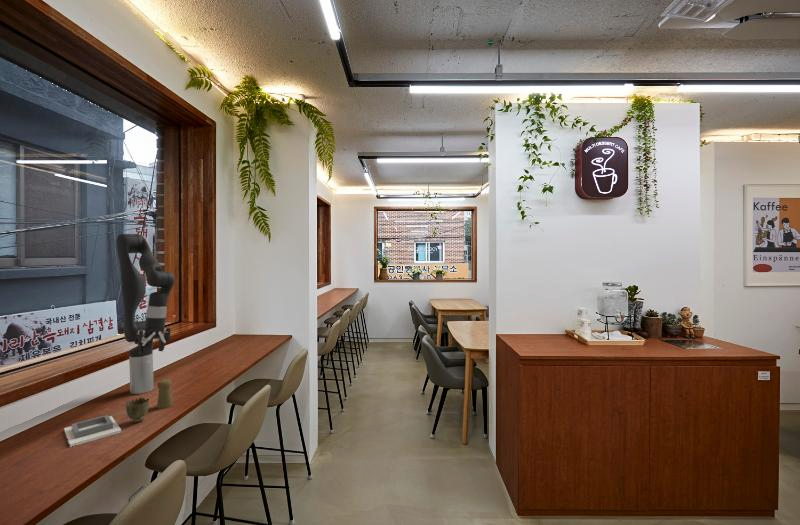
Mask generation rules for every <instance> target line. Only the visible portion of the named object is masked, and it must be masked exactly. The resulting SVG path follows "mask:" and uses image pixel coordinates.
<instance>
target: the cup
mask: <svg viewBox="0 0 800 525" xmlns="http://www.w3.org/2000/svg"><path fill="white" fill-rule="evenodd" d="M149 401H150V398H148V397H147V398H146V399H145V397H143V398H142V397H139V398H137V397H136V398H135V400H134V399H131V400H129V401H126V402H125V409H126V414H127V417H128V418H129V419H131V422H132V423H134V424H137V423H140V422H143V421H144V419H145V417H144V416H146V415H147V413H148V411H149V404H150V403H149Z"/></svg>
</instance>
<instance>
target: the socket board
mask: <svg viewBox="0 0 800 525" xmlns="http://www.w3.org/2000/svg"><path fill="white" fill-rule="evenodd" d="M63 431H64V435H65V437H66V440H67V439H68V440H67V443H68V445H70V446H69V448H73V447H76V446H80V445H83V444H86V443H90V442H93V441H97V440H101V439H104V438H106V437H111V436H115V435H118V434H120V433H122V428H121V427H120V426H119V424H118V423H117V422H116V420H115V419H114V417H113V415H110V416H109V415H108V414H107V415H102V416H99V417H95V418H90V419H86V420H82V421H78V422H75V423H72V424H71V426H67V427H64V430H63ZM75 445H76V446H75ZM72 446H73V447H72Z"/></svg>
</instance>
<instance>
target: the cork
mask: <svg viewBox="0 0 800 525" xmlns="http://www.w3.org/2000/svg"><path fill="white" fill-rule="evenodd" d="M172 385H173V383H172V380H171V379H162V380H159V381H158V382H157V389H158V395H157V402H156V403H157V406H156V409H158V410H163V408H165V409H168V408H167V407H169V408H171V407H173V406H174V405H173V404H174V400H173V393H172V389H171V387H172ZM172 405H173V406H172ZM170 406H171V407H170Z"/></svg>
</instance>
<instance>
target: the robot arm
mask: <svg viewBox="0 0 800 525" xmlns="http://www.w3.org/2000/svg"><path fill="white" fill-rule="evenodd" d="M115 243H116V252H117V257H118V263H119V269H120V271H119V272H120V281H121V282H120V283H121V284H120V286H121V295H122V302H123V303H122V304H123V334H124V339H125V341H126V343H134V344H135V345H137V346H134V347H133V348H131V349H130V350H129V351H128V359H129V360H128V361H129V365H128V366H129V387H130V388H129V391H130V392H129V393H130V394H132V395H138V394H145V393H149V392H151V391H153V390H154V388H155V387H154V359H153V358H154V357H153V356H154V355H153V354H154V353H153V349H154V339H155V340H158V341H159V343H158V352H164V349H165V345H166V343H167V342H169V341H170V340H171V331H172V330H171V328H170V327H165V326H166V320H167V312H168V310H167V309H168V308H167V306H168V301H169V300H168V298H169V295H170V294H171V291H172V289H173V287H174V285H175V281H176V277H175V275H174V273H173V272H171V271H164V270H163V267H162V264H160V263H159V261H158V260H157V259H156V257H155V255H153V252H152V250H151V247H150V245H149V243H148V241H147V239H146V238H145V236H143V235H142V234H136V233H120V234H118V235H117V236H116V241H115ZM130 254H140V257H139V260H138V265H139V267H140V269H141V270H142V271H143V273H144V274H145V277H146V280H145V277H143V275H142V274H141V272H140V271H139V270H138V269H137V268H136V266H135V265H134V264H133V263H132V261H131V257H130ZM145 282H146V283H145ZM146 284H148V285H149V286H150V287H153V288H160V289H159V290H158V291H153V292H151V293H150V294H149V295H148V296H149V297H148V304H147V308H146V313H145V320H139V321H135V317H136V312H137V309H138V308H139V306H140V304H141V302H142V301H143V300H144V297H145V295H146V294H147V293H146V292H147V291H146Z"/></svg>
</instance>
